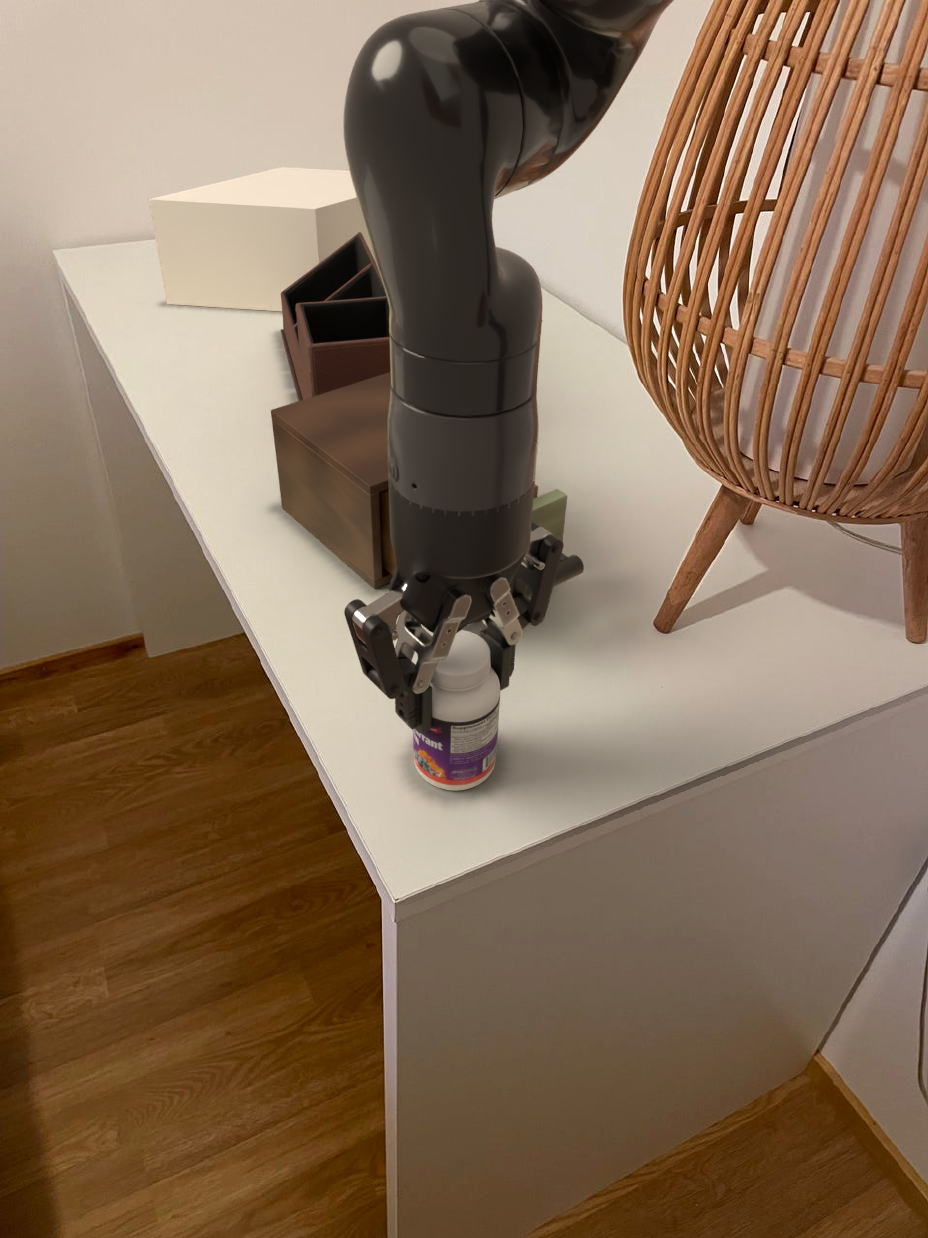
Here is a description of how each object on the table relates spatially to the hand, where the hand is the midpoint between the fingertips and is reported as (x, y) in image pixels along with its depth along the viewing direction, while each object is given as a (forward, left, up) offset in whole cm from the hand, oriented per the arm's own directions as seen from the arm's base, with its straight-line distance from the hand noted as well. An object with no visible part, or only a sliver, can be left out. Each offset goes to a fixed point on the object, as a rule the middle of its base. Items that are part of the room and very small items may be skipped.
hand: (456, 701), depth 60 cm
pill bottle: (0, 0, -6) cm, 6 cm away
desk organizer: (+37, -40, -6) cm, 55 cm away
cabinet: (+19, -21, -5) cm, 29 cm away
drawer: (+8, -17, -5) cm, 19 cm away
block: (+57, -60, -6) cm, 83 cm away
